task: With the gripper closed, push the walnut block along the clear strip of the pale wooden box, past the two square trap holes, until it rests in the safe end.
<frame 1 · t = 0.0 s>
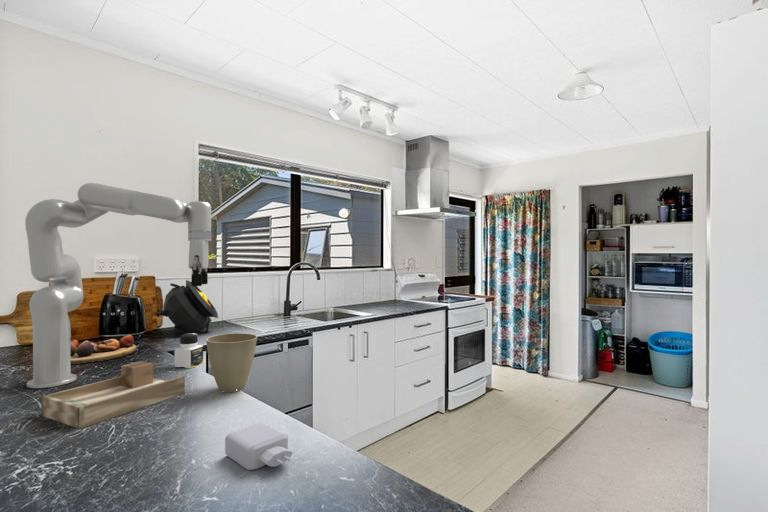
hand: (199, 285, 142), 31 cm above the counter, tool pointing down, fingers open, 9 cm apart
plant pot: (232, 389, 125), on the counter
medicine bottle: (189, 366, 152), on the counter
walnut block: (137, 384, 121), point 2 cm above the counter, touching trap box
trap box: (118, 403, 112), on the counter
charger: (264, 462, 80), on the counter
wooden plate with food: (92, 356, 169), on the counter
cauldron: (187, 334, 216), on the counter
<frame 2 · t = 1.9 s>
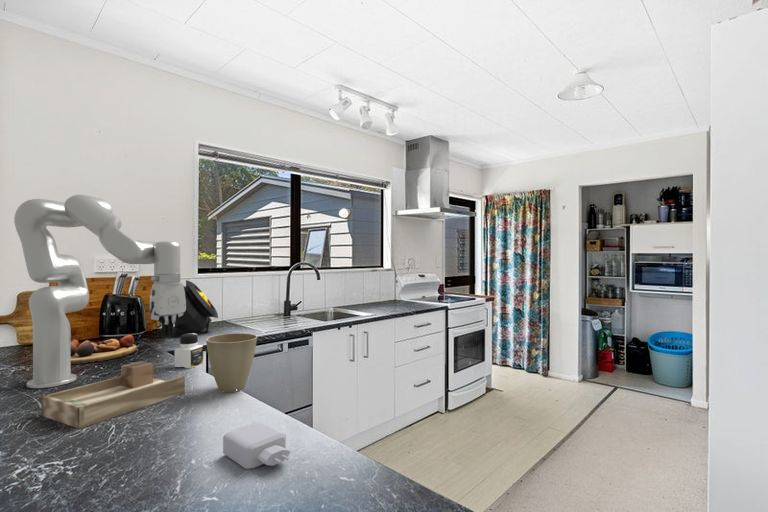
hand: (167, 335, 130), 15 cm above the counter, tool pointing down, fingers closed
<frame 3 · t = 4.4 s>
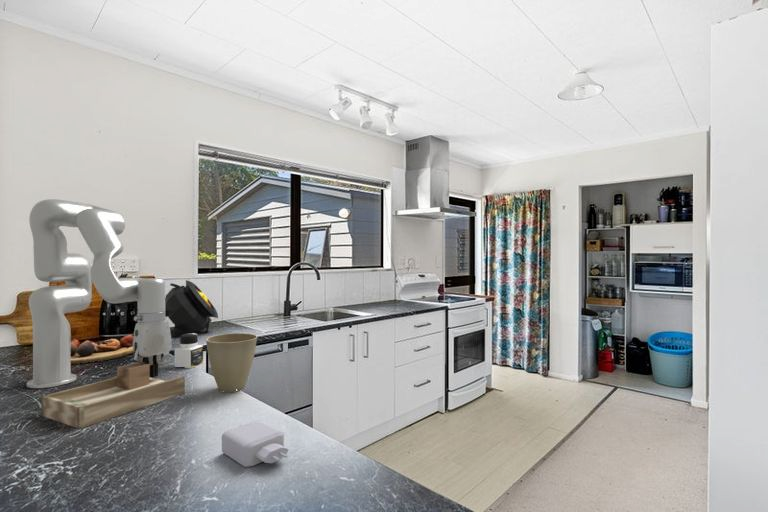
hand: (152, 376, 125), 4 cm above the counter, tool pointing down, fingers closed
walnut block: (133, 385, 120), point 3 cm above the counter, touching gripper, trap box
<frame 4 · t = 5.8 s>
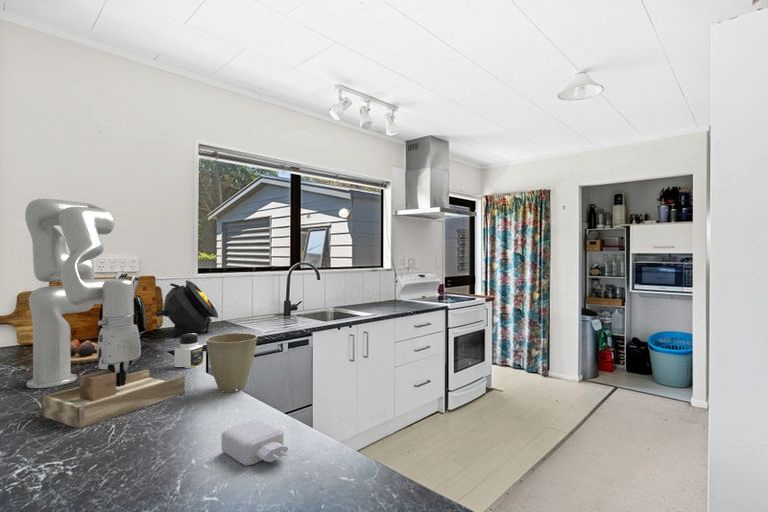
hand: (119, 385, 116), 4 cm above the counter, tool pointing down, fingers closed
walnut block: (98, 396, 111), point 3 cm above the counter, touching gripper
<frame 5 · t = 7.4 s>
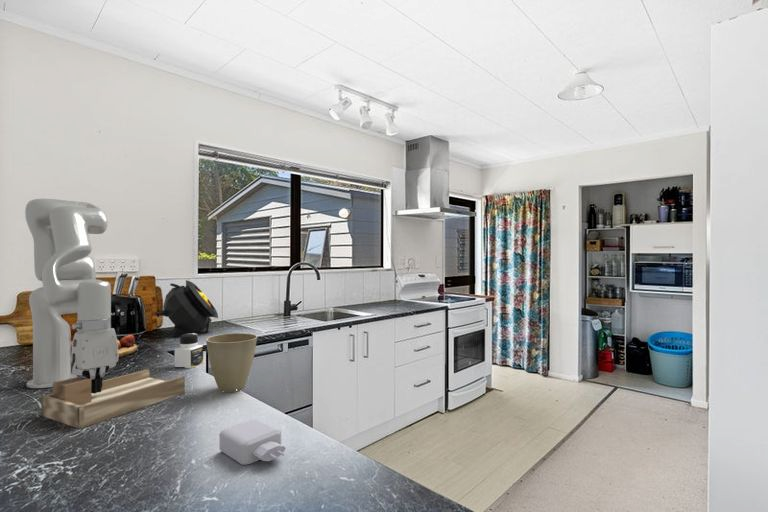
hand: (94, 392, 111), 4 cm above the counter, tool pointing down, fingers closed
walnut block: (72, 403, 105), point 2 cm above the counter, touching gripper, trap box
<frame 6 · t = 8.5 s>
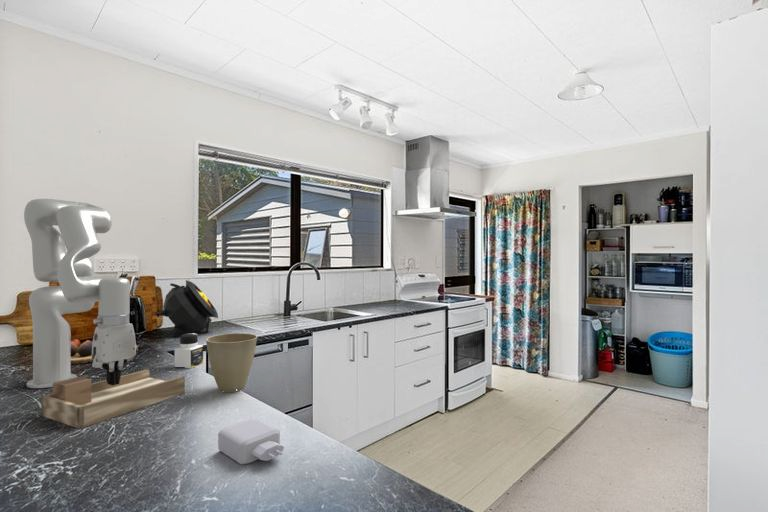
hand: (113, 383, 116), 4 cm above the counter, tool pointing down, fingers closed
walnut block: (72, 403, 105), point 2 cm above the counter, touching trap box
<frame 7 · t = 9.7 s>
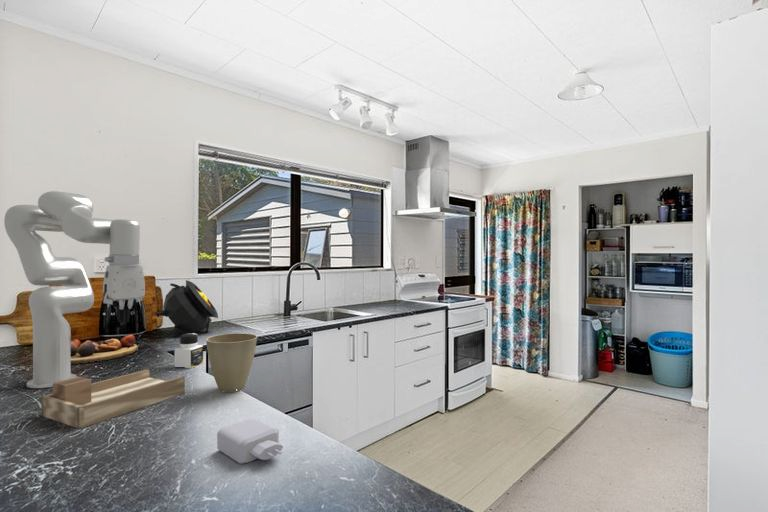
hand: (123, 321, 120), 22 cm above the counter, tool pointing down, fingers closed
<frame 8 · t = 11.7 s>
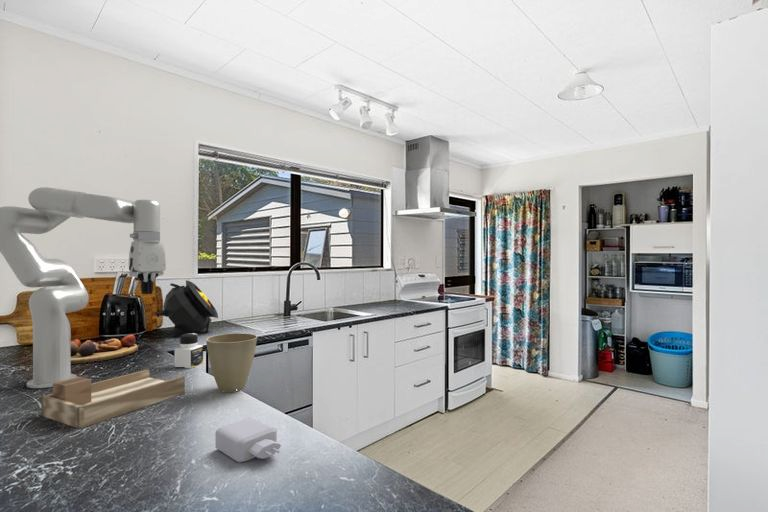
hand: (147, 293, 131), 29 cm above the counter, tool pointing down, fingers closed
at the end: walnut block 0.5 cm from the target spot on the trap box, point 2.5 cm above the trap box's base; walnut block tilted 0° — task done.
